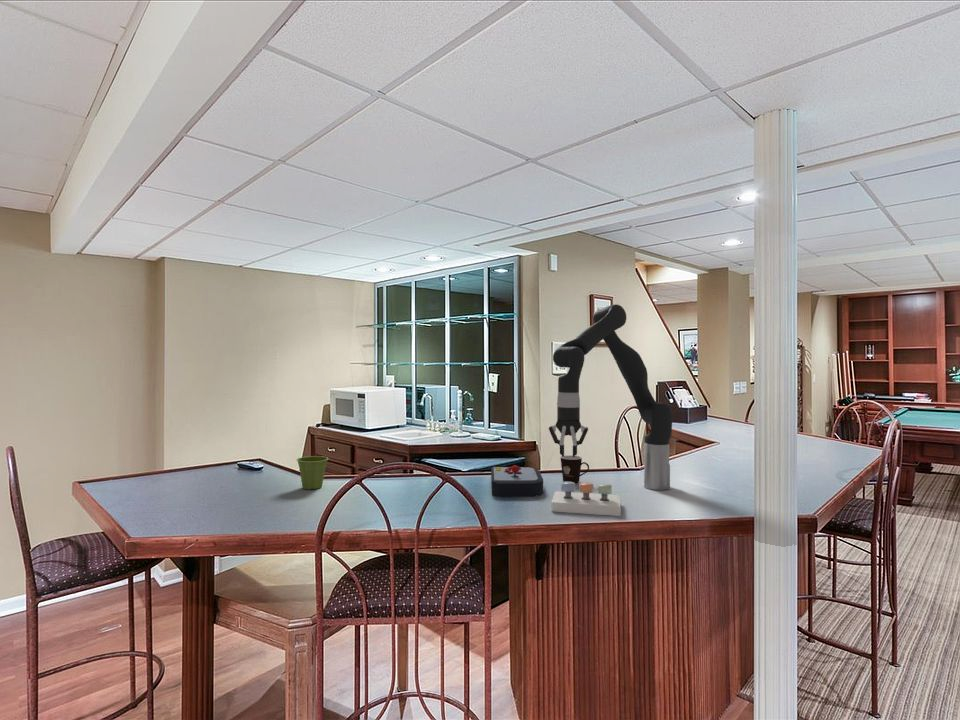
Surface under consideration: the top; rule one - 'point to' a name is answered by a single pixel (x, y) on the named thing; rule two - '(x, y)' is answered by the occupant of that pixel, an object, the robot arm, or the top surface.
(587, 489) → the terracotta button
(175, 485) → the top surface
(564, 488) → the slate button
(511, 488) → the arcade joystick
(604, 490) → the sage button
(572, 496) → the console
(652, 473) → the robot arm
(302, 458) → the plant pot
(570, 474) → the coffee mug
